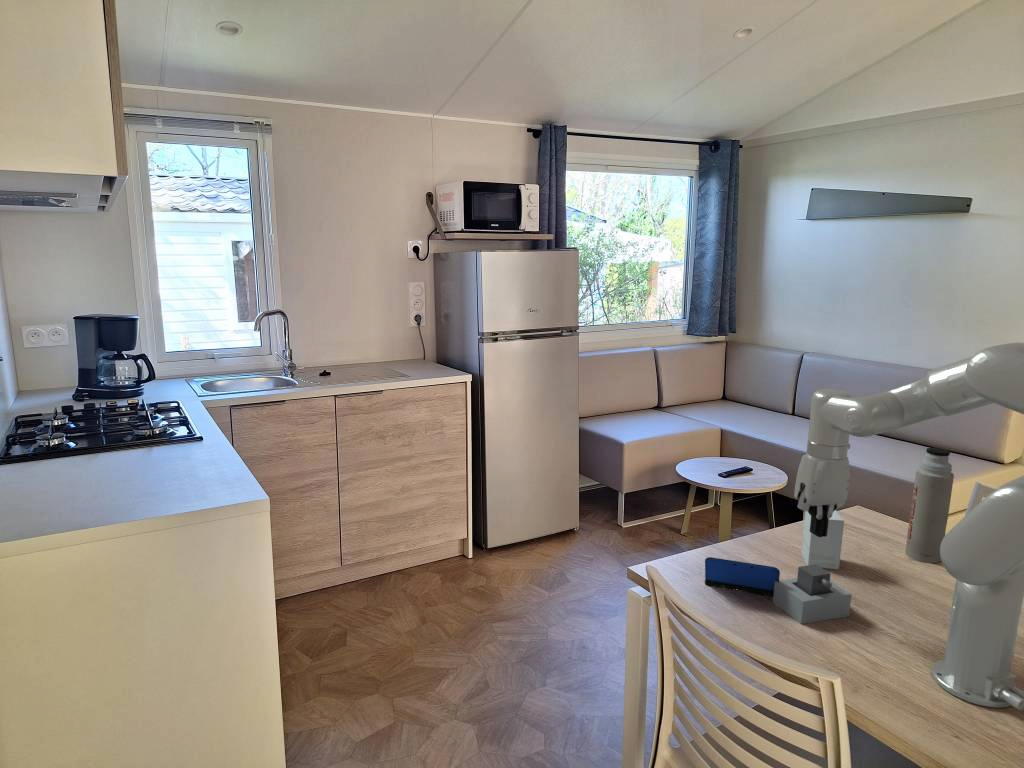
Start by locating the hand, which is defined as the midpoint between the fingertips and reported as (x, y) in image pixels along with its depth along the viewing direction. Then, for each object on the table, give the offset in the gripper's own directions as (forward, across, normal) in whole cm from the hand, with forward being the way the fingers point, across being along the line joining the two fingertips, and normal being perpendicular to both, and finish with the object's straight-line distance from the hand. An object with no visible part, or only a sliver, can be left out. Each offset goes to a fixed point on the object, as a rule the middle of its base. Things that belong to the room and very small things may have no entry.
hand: (818, 534), depth 141 cm
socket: (+17, 0, 0) cm, 17 cm away
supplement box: (+17, -18, -18) cm, 31 cm away
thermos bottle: (+17, -46, -14) cm, 51 cm away
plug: (+16, 0, +1) cm, 16 cm away
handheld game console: (+18, +9, -12) cm, 23 cm away
